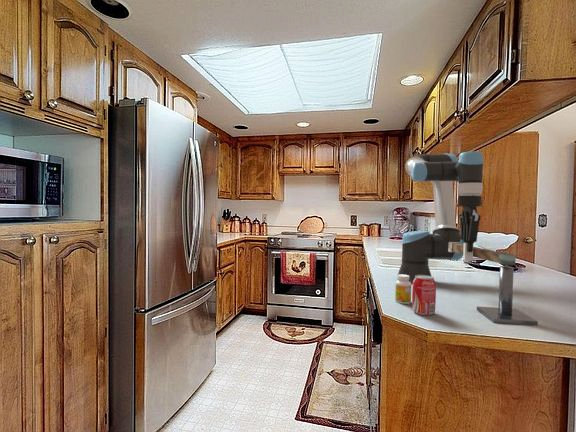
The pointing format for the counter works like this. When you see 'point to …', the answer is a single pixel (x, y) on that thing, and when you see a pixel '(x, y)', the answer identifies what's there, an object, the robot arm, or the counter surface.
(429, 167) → the robot arm
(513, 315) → the post
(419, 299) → the soda can
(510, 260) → the swing arm
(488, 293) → the counter surface
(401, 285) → the supplement bottle
